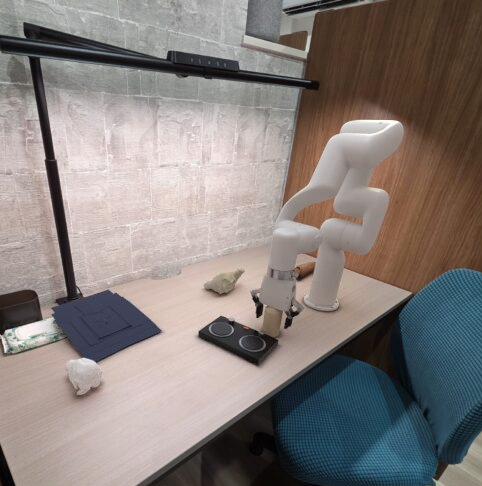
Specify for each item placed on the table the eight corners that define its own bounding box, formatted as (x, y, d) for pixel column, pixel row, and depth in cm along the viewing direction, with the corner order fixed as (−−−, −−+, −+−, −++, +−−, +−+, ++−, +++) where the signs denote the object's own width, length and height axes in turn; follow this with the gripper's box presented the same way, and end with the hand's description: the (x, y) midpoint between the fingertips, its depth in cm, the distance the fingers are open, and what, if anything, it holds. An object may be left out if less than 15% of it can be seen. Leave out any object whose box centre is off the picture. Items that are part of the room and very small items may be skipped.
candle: (268, 325, 104) (272, 298, 99) (282, 332, 101) (287, 305, 96) (258, 331, 101) (262, 304, 96) (272, 339, 97) (277, 311, 92)
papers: (113, 294, 117) (113, 285, 115) (162, 337, 100) (163, 328, 98) (45, 316, 102) (44, 307, 100) (90, 371, 85) (89, 362, 83)
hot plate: (220, 320, 106) (221, 312, 104) (277, 345, 95) (279, 336, 93) (198, 336, 97) (198, 327, 96) (258, 365, 86) (259, 356, 84)
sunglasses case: (303, 264, 152) (312, 254, 147) (313, 274, 150) (322, 265, 145) (283, 274, 140) (292, 264, 135) (294, 286, 138) (303, 276, 134)
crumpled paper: (75, 372, 69) (52, 352, 76) (83, 403, 72) (60, 380, 80) (101, 359, 73) (77, 341, 80) (107, 388, 76) (84, 368, 84)
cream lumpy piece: (204, 302, 121) (236, 285, 113) (197, 285, 121) (228, 266, 114) (222, 298, 134) (252, 282, 126) (215, 283, 135) (244, 266, 127)
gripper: (314, 276, 89) (303, 326, 97) (260, 260, 98) (254, 308, 106) (304, 285, 84) (293, 337, 92) (247, 268, 93) (242, 317, 101)
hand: (272, 321), depth 99 cm, fingers open, 9 cm apart
